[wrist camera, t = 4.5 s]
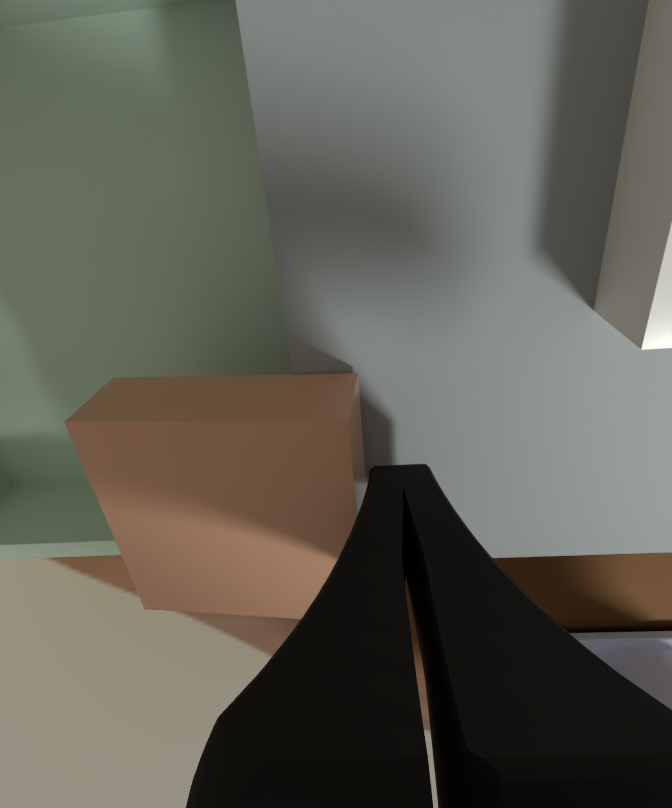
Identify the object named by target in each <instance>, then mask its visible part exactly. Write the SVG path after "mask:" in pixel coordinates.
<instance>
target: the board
mask: <svg viewBox="0 0 672 808" xmlns="http://www.w3.org/2000/svg"><path fill="white" fill-rule="evenodd" d="M235 1H236V7H237V14H238V20H239V27H240V34H241V40H242V47H243V53H244V60H245V66H246V73H247V79H248V86H249V93H250V99H251V106H252V112H253V119H254V125H255V132H256V138H257V145H258V151H259V158H260V165H261V171H262V178H263V184H264V191H265V197H266V204H267V210H268V217H269V224H270V230H271V237H272V243H273V250H274V256H275V263H276V269H277V276H278V283H279V289H280V296H281V302H282V309H283V315H284V322H285V328H286V335H287V342H288V348H289V355H290V361H291V368H292V374H345V373H358V377H359V391H360V405H361V419H362V433H363V447H364V461H365V475H366V488H367V484H368V479H369V470H370V469H371V468H372V467H374V466H386V465H407V464H426V465H428V466H429V467H430V469H431V471H432V473H433V475H434V477H435V479H436V480H437V482H438V484H439V486H440V487H441V489H442V491H443V492H444V494H445V496H446V497H447V499H448V500H449V502H450V503H451V505H452V506H453V508H454V509H455V511H456V512H457V513H458V515H459V516H460V518H461V519H462V520H463V522H464V523H465V524H466V526H467V527H468V529H469V530H470V531H471V533H472V534H473V535H474V536H475V538H476V539H477V540H478V541H479V543H480V544H481V545H482V546H483V548H484V549H485V550H486V551H487V552H488V554H489V555H490V556H491V557H492V558H512V557H542V556H571V555H601V554H631V553H660V552H672V348H660V349H645V350H641V349H640V348H639V347H637V346H636V345H635V344H634V343H632V342H631V341H630V340H629V339H628V338H626V337H625V336H624V335H623V334H621V333H620V332H619V331H618V330H616V329H615V328H614V327H613V326H612V325H610V324H609V323H608V322H607V321H605V320H604V319H603V318H602V317H601V316H599V315H598V314H597V313H596V312H594V311H593V310H594V305H595V299H596V294H597V288H598V282H599V277H600V271H601V265H602V260H603V254H604V249H605V243H606V237H607V232H608V226H609V221H610V215H611V209H612V204H613V198H614V192H615V187H616V181H617V176H618V170H619V164H620V159H621V153H622V147H623V142H624V136H625V131H626V125H627V119H628V114H629V108H630V103H631V97H632V91H633V86H634V80H635V74H636V69H637V63H638V58H639V52H640V46H641V41H642V35H643V29H644V24H645V18H646V13H647V7H648V1H649V0H235Z"/></svg>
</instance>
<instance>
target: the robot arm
mask: <svg viewBox="0 0 672 808" xmlns="http://www.w3.org/2000/svg"><path fill="white" fill-rule="evenodd" d="M405 574H406V580H407V585H408V590H409V595H410V600H411V606H412V611H413V616H414V621H415V626H416V631H417V636H418V641H419V647H420V652H421V657H422V662H423V669H424V675H425V682H426V691H427V701H428V710H429V719H430V729H431V739H432V748H433V758H434V768H435V778H436V787H437V796H438V808H672V631H643V632H596V633H569V632H568V631H566V630H565V629H564V628H563V627H562V626H561V625H559V624H558V623H557V622H556V621H555V620H554V619H552V618H551V617H550V616H549V615H548V614H547V613H546V612H544V611H543V610H542V609H541V608H540V607H539V606H538V605H537V604H536V603H535V602H534V601H533V600H532V599H531V598H530V597H529V596H528V595H527V594H526V593H525V592H524V591H523V590H522V589H521V588H520V587H519V586H518V585H517V584H516V583H515V582H514V581H513V580H512V579H511V578H510V577H509V576H508V575H507V574H506V573H505V572H504V571H503V570H502V568H501V567H500V566H499V565H498V564H497V563H496V562H495V561H494V559H493V558H492V557H491V556H490V555H489V554H488V552H487V551H486V550H485V549H484V548H483V546H482V545H481V544H480V543H479V541H478V540H477V539H476V538H475V536H474V535H473V534H472V533H471V531H470V530H469V529H468V527H467V526H466V524H465V523H464V522H463V520H462V519H461V518H460V516H459V515H458V513H457V512H456V511H455V509H454V508H453V506H452V505H451V503H450V502H449V500H448V499H447V497H446V496H445V494H444V492H443V491H442V489H441V487H440V486H439V484H438V482H437V480H436V479H435V477H434V475H433V473H432V471H431V469H430V467H429V466H428V465H426V464H407V465H386V466H374V467H372V468H371V469H370V470H369V479H368V484H367V488H366V492H365V495H364V498H363V502H362V505H361V507H360V510H359V513H358V515H357V518H356V520H355V523H354V526H353V528H352V530H351V533H350V535H349V537H348V539H347V541H346V543H345V545H344V548H343V550H342V552H341V554H340V556H339V558H338V560H337V562H336V564H335V566H334V567H333V569H332V571H331V573H330V575H329V576H328V578H327V580H326V581H325V583H324V585H323V586H322V588H321V590H320V592H319V593H318V595H317V596H316V598H315V599H314V601H313V602H312V604H311V605H310V607H309V608H308V610H307V611H306V613H305V614H304V616H303V617H302V619H301V620H300V622H299V623H298V624H297V626H296V627H295V628H294V630H293V631H292V633H291V634H290V635H289V636H288V638H287V639H286V640H285V641H284V643H283V644H282V645H281V646H280V648H279V649H278V650H277V651H276V653H275V654H274V655H273V657H272V658H271V659H270V660H269V662H268V663H267V664H266V665H265V667H264V668H263V669H262V670H261V671H260V672H259V674H258V675H257V676H256V677H255V678H254V679H253V680H252V681H251V683H249V685H248V686H247V687H246V688H245V689H244V690H243V691H242V692H241V693H240V695H238V696H237V697H236V699H235V700H234V701H233V702H232V703H231V704H230V705H229V706H228V707H227V708H226V709H225V710H224V711H223V713H222V714H221V715H220V716H219V717H218V719H217V721H216V723H215V725H214V727H213V730H212V732H211V734H210V737H209V739H208V741H207V743H206V746H205V748H204V751H203V753H202V756H201V758H200V761H199V764H198V767H197V770H196V773H195V775H194V778H193V782H192V785H191V789H190V793H189V797H188V801H187V806H186V808H433V801H432V792H431V783H430V773H429V764H428V756H427V749H426V742H425V736H424V728H423V721H422V714H421V707H420V700H419V693H418V686H417V678H416V671H415V663H414V655H413V648H412V640H411V632H410V624H409V616H408V608H407V600H406V591H405Z"/></svg>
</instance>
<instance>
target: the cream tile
mask: <svg viewBox="0 0 672 808" xmlns="http://www.w3.org/2000/svg"><path fill="white" fill-rule="evenodd" d="M593 311H594V312H596V313H597V314H598V315H599V316H601V317H602V318H603V319H604V320H605V321H607V322H608V323H609V324H610V325H612V326H613V327H614V328H615V329H616V330H618V331H619V332H620V333H621V334H623V335H624V336H625V337H626V338H628V339H629V340H630V341H631V342H632V343H634V344H635V345H636V346H637V347H639V348H640V349H641V350H645V349H660V348H672V0H649V1H648V7H647V13H646V18H645V24H644V29H643V35H642V41H641V46H640V52H639V58H638V63H637V69H636V74H635V80H634V86H633V91H632V97H631V103H630V108H629V114H628V119H627V125H626V131H625V136H624V142H623V147H622V153H621V159H620V164H619V170H618V176H617V181H616V187H615V192H614V198H613V204H612V209H611V215H610V221H609V226H608V232H607V237H606V243H605V249H604V254H603V260H602V265H601V271H600V277H599V282H598V288H597V294H596V299H595V305H594V310H593Z"/></svg>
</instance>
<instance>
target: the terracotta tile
mask: <svg viewBox="0 0 672 808" xmlns="http://www.w3.org/2000/svg"><path fill="white" fill-rule="evenodd" d="M64 423H65V425H66V428H67V430H68V432H69V435H70V437H71V439H72V442H73V444H74V446H75V449H76V451H77V453H78V456H79V458H80V460H81V463H82V465H83V467H84V470H85V472H86V474H87V476H88V479H89V481H90V483H91V486H92V488H93V490H94V493H95V495H96V497H97V500H98V502H99V504H100V507H101V509H102V511H103V514H104V516H105V518H106V521H107V523H108V525H109V528H110V530H111V532H112V534H113V537H114V539H115V541H116V544H117V546H118V548H119V551H120V553H121V555H122V558H123V560H124V562H125V565H126V567H127V569H128V572H129V574H130V576H131V579H132V581H133V583H134V586H135V588H136V590H137V593H138V595H139V597H140V599H141V602H142V604H143V606H144V609H152V610H167V611H183V612H199V613H215V614H231V615H247V616H263V617H279V618H295V619H302V617H303V616H304V614H305V613H306V611H307V610H308V608H309V607H310V605H311V604H312V602H313V601H314V599H315V598H316V596H317V595H318V593H319V592H320V590H321V588H322V586H323V585H324V583H325V581H326V580H327V578H328V576H329V575H330V573H331V571H332V569H333V567H334V566H335V564H336V562H337V560H338V558H339V556H340V554H341V552H342V550H343V548H344V545H345V543H346V541H347V539H348V537H349V535H350V533H351V530H352V528H353V526H354V523H355V520H356V518H357V515H358V513H359V510H360V507H361V505H362V502H363V498H364V495H365V492H366V475H365V461H364V447H363V433H362V419H361V405H360V391H359V377H358V373H345V374H289V375H234V376H178V377H122V378H113V379H111V380H110V381H109V382H108V383H107V384H106V385H105V386H104V387H102V388H101V389H100V390H99V391H98V392H97V393H96V394H95V395H93V396H92V397H91V398H90V399H89V400H88V401H87V402H86V403H84V404H83V405H82V406H81V407H80V408H79V409H78V410H77V411H75V412H74V413H73V414H72V415H71V416H70V417H69V418H68V419H66V420H65V421H64Z"/></svg>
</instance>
